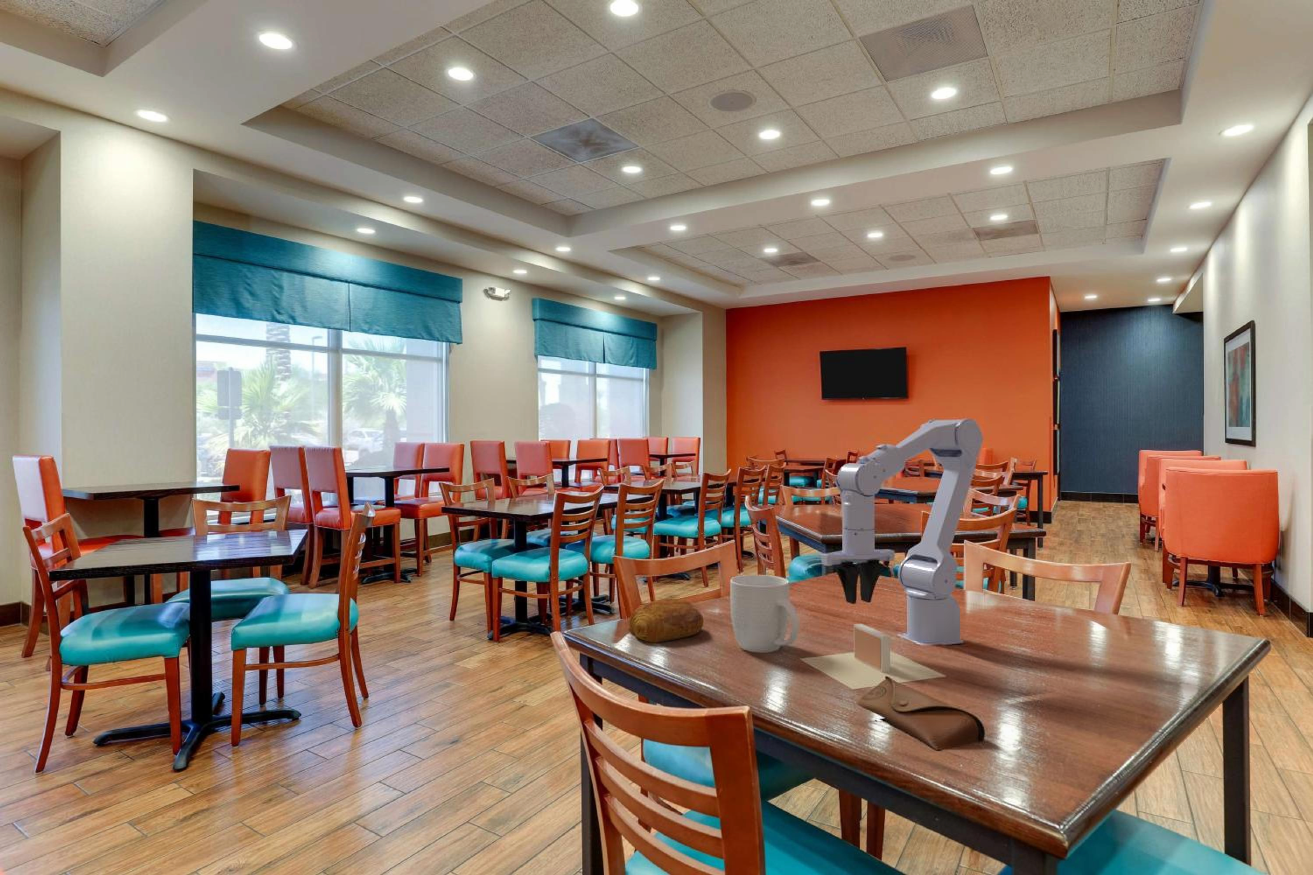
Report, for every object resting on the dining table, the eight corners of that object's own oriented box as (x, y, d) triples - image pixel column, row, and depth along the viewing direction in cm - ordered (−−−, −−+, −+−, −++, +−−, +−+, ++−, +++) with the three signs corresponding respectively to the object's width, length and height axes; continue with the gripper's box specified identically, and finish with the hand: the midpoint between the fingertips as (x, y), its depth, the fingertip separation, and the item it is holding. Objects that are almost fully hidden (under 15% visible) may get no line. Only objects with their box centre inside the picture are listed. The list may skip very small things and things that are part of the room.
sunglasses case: (844, 704, 106) (862, 662, 107) (875, 720, 109) (892, 679, 110) (939, 752, 90) (959, 703, 91) (973, 771, 92) (992, 722, 94)
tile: (861, 657, 126) (861, 623, 126) (890, 671, 119) (890, 635, 119) (853, 658, 126) (853, 624, 126) (881, 672, 118) (881, 636, 118)
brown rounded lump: (714, 646, 143) (719, 606, 144) (650, 648, 135) (656, 606, 135) (672, 628, 155) (677, 591, 156) (612, 628, 146) (617, 590, 147)
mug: (818, 656, 129) (818, 584, 129) (775, 668, 122) (775, 593, 122) (759, 637, 141) (759, 571, 141) (718, 647, 134) (717, 578, 134)
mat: (884, 651, 132) (884, 648, 132) (946, 679, 117) (946, 675, 117) (799, 662, 126) (799, 658, 126) (852, 692, 111) (852, 689, 111)
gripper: (878, 524, 137) (878, 594, 137) (812, 527, 132) (812, 600, 132) (901, 528, 130) (902, 602, 130) (833, 532, 126) (833, 608, 126)
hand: (858, 601), depth 131 cm, fingers open, 3 cm apart
